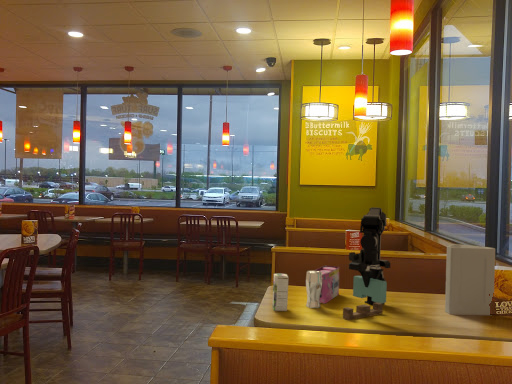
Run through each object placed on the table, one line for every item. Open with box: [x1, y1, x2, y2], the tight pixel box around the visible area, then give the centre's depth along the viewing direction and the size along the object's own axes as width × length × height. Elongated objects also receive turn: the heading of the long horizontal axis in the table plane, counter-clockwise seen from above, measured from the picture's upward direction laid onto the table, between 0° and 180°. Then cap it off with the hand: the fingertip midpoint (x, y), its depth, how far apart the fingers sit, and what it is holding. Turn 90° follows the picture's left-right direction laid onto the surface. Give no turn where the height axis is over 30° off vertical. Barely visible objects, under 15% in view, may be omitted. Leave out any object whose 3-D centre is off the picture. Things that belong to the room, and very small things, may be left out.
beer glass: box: [305, 270, 322, 309], centre depth 193 cm, size 7×7×15 cm
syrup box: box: [271, 273, 289, 312], centre depth 186 cm, size 6×6×14 cm
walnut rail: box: [342, 302, 384, 321], centre depth 180 cm, size 20×3×4 cm, turn 125°
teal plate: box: [352, 275, 388, 303], centre depth 176 cm, size 14×3×8 cm, turn 36°
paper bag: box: [444, 243, 496, 316], centre depth 195 cm, size 19×15×28 cm
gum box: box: [313, 265, 340, 304], centre depth 210 cm, size 24×8×14 cm, turn 155°
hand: (369, 286), depth 177 cm, fingers closed on teal plate, 3 cm apart
